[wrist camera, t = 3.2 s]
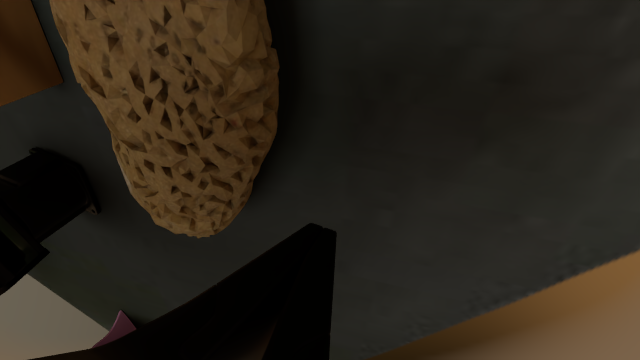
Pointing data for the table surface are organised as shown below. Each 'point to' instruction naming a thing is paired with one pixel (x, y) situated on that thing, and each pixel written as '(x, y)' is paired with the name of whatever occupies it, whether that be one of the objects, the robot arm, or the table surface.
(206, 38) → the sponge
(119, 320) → the toy chair
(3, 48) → the back rail
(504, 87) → the table surface
